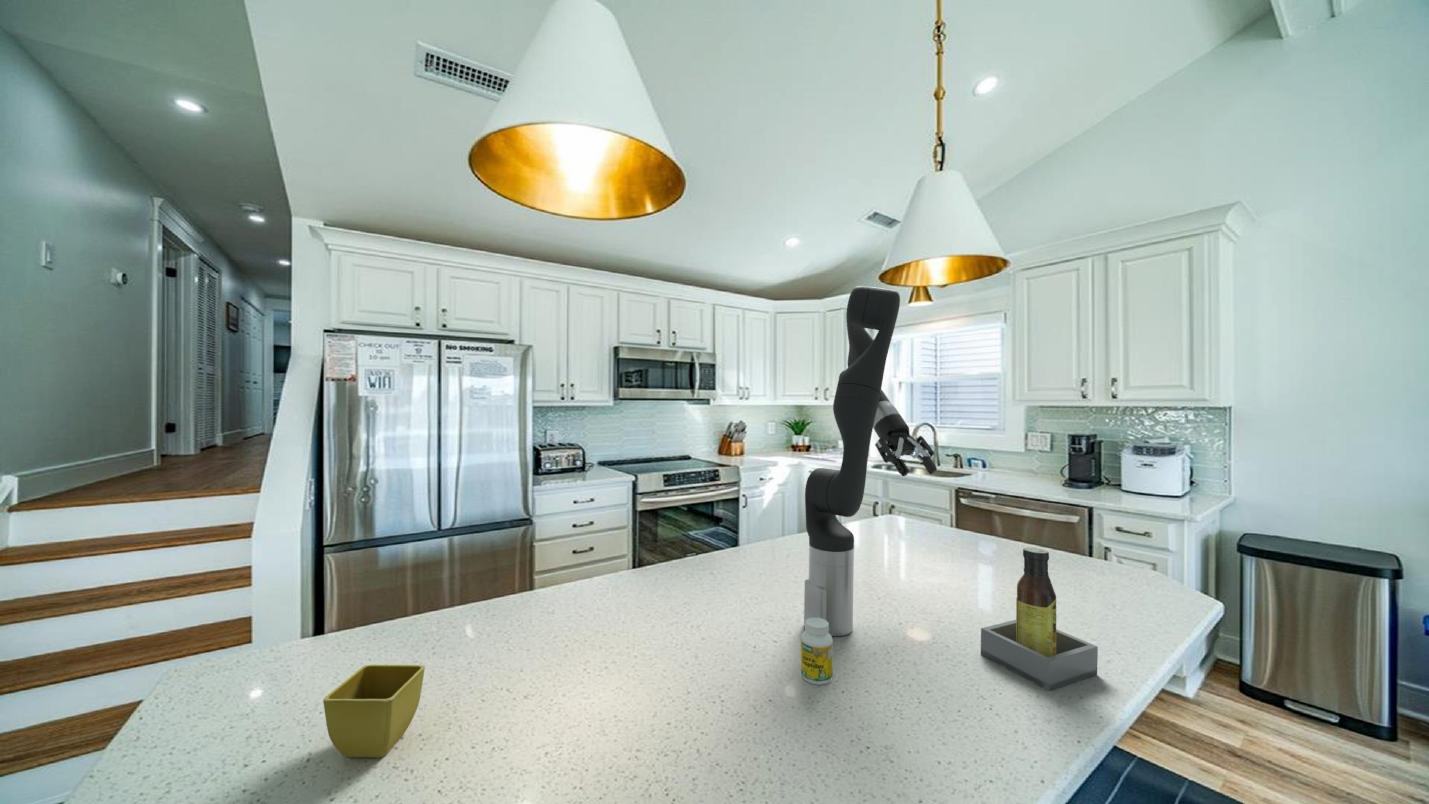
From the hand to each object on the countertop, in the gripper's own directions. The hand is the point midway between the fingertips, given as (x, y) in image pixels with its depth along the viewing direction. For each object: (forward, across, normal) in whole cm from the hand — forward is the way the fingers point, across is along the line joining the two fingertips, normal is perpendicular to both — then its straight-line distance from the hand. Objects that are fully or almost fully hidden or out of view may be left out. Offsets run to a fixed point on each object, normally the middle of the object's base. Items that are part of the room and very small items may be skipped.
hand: (920, 473), depth 122 cm
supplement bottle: (+35, -42, +8) cm, 55 cm away
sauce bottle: (+42, -2, 0) cm, 42 cm away
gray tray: (+43, -2, 0) cm, 43 cm away
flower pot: (+29, -108, +13) cm, 113 cm away
